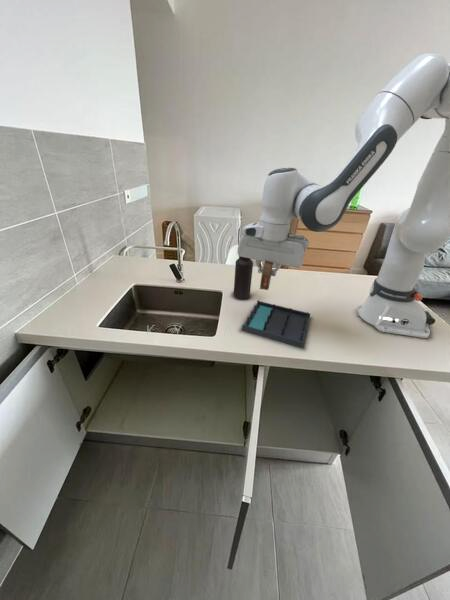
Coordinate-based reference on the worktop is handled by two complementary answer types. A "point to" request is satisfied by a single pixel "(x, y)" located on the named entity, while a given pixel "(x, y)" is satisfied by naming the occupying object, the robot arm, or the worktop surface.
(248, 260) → the bottle
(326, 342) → the worktop surface
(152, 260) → the worktop surface
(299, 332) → the tray
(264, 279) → the brown flat piece
